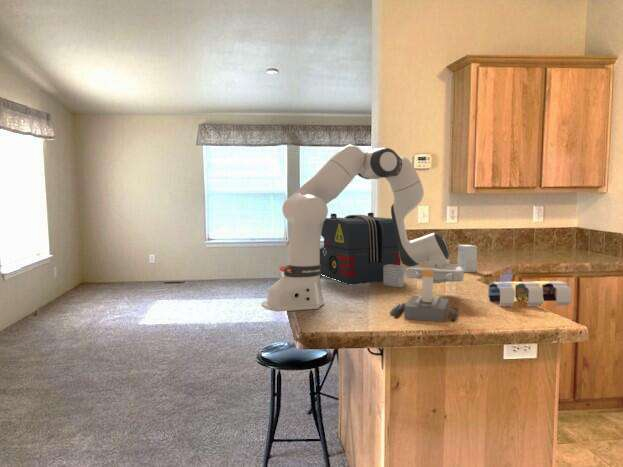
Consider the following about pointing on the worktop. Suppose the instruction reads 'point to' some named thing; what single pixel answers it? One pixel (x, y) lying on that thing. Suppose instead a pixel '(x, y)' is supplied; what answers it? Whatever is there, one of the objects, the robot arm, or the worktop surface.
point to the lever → (427, 285)
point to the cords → (397, 310)
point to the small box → (467, 257)
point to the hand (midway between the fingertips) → (431, 277)
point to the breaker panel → (427, 309)
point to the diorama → (529, 292)
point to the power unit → (358, 248)
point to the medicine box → (393, 275)
